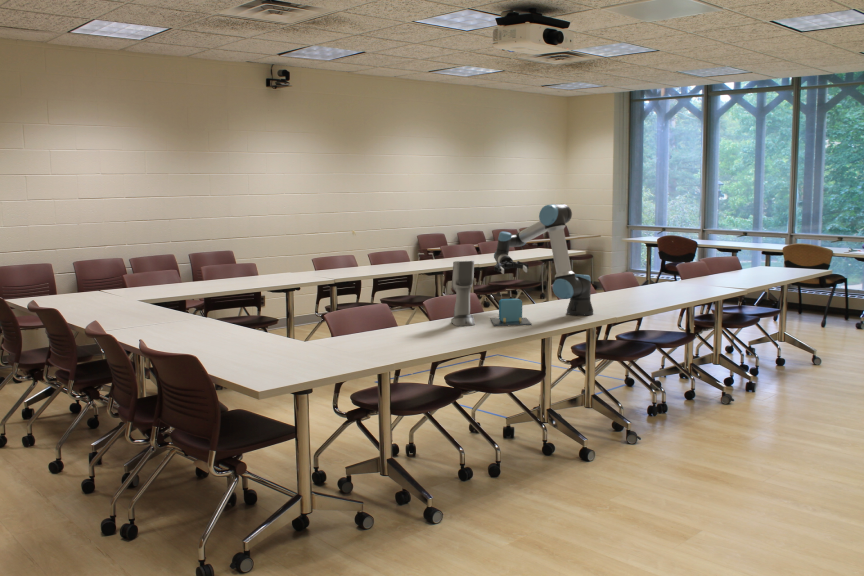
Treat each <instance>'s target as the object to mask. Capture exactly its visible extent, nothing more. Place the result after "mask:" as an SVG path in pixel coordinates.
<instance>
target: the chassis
mask: <svg viewBox="0 0 864 576" xmlns="http://www.w3.org/2000/svg"><path fill="white" fill-rule="evenodd" d="M489 321H490V322H491V323H492V325H493V327H509V326H508V325H531V326H532V323H531V321H530V320H529V319H528V318H527V317H522V318H519V321H516V322H506V318H503V322H502V321H501V320H499V317H495V318H493V317H491V318H490V319H489Z"/></svg>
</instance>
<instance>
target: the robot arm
mask: <svg viewBox="0 0 864 576" xmlns="http://www.w3.org/2000/svg"><path fill="white" fill-rule="evenodd" d="M538 213H539V215H538V218H539V220H538V221H537V222H535V223H533V224H531V225H529V226H528V227H526V228H524V229H522V230H521V231H519V232H517V233H516V234H512V233H511V232H508V231H500V232H499V234H498V238H497V246H496V249H495V252H494V253H493V259H494V260H495V262H496V264H495V265H494V269H493V271H494V272H495V271H497V273H501V274H502V275H504V274H505V270H509V269H521V270H523V272H525V273H528V269H529V264H528V263H525V262H521V261H519V260H518V261H516V262H515V261H514V260H513V258H511V256H509V251H510V248H516V247H517V248H518V247H522V246H525V245H526V244H527V243H528V242H529V241H531V240H534V239H535V238H538V237H539V236H541V235H542V234H544V233H548V236H549V241H550V246H551V247H550V248H551V251H552V258H553V262H554V267H555V273H556V274H555V275H554V282H553V283H552V291H553V293H554V295H555V297H557V298H558V299H562V300H568V299H569V303H568V305H567V307H566V308H567V309H566V314H567V315H570V316H592V315H594V308H593V305H592V301H591V294H592V293H591V291H592V290H591V289H592V288H591V287H592V286H591V284H592V281H591V279H592V278H591V276H590V275H589V274H577V273H575V272H574V271H573V270H572V266H571V261H570V254H569V250H568V245H567V239H566V234H565V228H566V226H567V225H566V224H567V223H569V222H570V221H571V219H572V216H573V211H572V208H571V207H570V206H569V205H567V204H564V203H559V204H558V203H551V204H546V205H543V207H542V208H541V209H540V211H539V212H538Z"/></svg>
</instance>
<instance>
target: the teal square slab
mask: <svg viewBox="0 0 864 576" xmlns="http://www.w3.org/2000/svg"><path fill="white" fill-rule="evenodd" d="M498 318H499V320H501V321H502V322H503V318H506V322H516V321H519V318H523V301H522V299H519V298H501V299H500V300H499V301H498Z"/></svg>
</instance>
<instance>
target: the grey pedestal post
mask: <svg viewBox="0 0 864 576" xmlns="http://www.w3.org/2000/svg"><path fill="white" fill-rule="evenodd" d="M474 273H475V260H465V261H464V260H463V261H462V260H461V261H460V260H456V261H453V264H452V278H451V279H452V280H451V288H452V290H453V291H454V292H455V293H456V294H455V297H456V298H455V304H454V310H453V316H452V318H451V320H450V323H451V324H452V323H453V324H452V325H454V326H456V327H469V326H475V324H476V323H475V317H474V316H473V315H472V314H471V290H472V288H473V285H474V284H473V283H474V278H475V277H474V276H475V274H474Z"/></svg>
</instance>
